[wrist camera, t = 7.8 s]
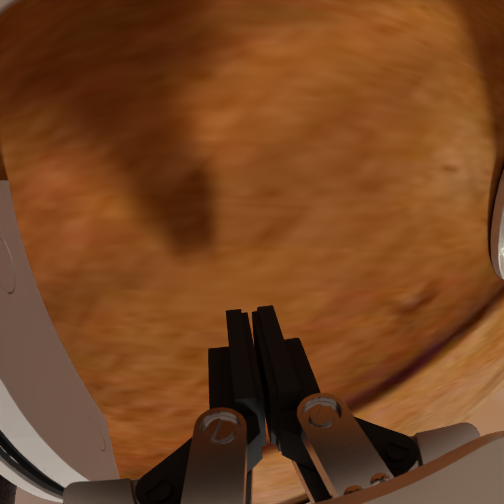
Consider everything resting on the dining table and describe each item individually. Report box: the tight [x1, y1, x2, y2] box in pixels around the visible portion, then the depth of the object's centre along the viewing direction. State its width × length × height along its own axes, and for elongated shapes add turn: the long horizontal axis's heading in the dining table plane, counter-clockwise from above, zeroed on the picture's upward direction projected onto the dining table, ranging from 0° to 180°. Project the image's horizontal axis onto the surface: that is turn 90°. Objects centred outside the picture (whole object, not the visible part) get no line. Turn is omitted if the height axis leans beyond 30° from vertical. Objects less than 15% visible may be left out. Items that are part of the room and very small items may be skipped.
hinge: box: [0, 180, 120, 502], centre depth 9 cm, size 17×5×10 cm, turn 3°
